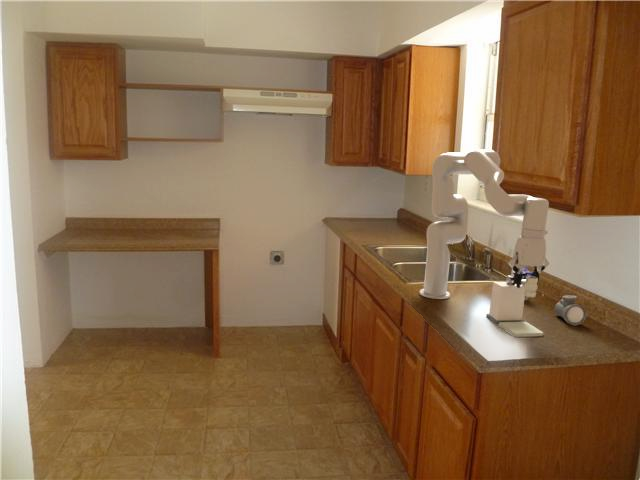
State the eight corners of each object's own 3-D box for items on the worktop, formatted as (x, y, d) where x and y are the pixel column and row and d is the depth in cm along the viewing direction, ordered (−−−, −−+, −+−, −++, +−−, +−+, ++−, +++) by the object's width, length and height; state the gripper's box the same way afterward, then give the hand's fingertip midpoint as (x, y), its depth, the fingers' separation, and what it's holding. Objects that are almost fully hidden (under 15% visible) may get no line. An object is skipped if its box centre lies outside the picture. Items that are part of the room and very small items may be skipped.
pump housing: (486, 317, 212) (491, 273, 209) (512, 316, 214) (517, 273, 211) (497, 324, 204) (502, 279, 201) (523, 323, 207) (530, 279, 203)
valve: (541, 298, 191) (526, 287, 202) (544, 279, 189) (528, 269, 201) (522, 297, 190) (508, 287, 202) (525, 278, 189) (511, 269, 200)
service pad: (498, 325, 204) (498, 322, 203) (525, 324, 206) (525, 321, 206) (515, 336, 193) (515, 333, 193) (543, 335, 195) (543, 332, 195)
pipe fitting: (587, 325, 208) (587, 298, 207) (565, 326, 207) (566, 299, 206) (570, 317, 219) (571, 292, 218) (550, 318, 219) (550, 293, 218)
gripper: (548, 231, 198) (541, 280, 201) (504, 231, 194) (498, 281, 198) (561, 236, 191) (554, 287, 194) (516, 235, 187) (509, 287, 191)
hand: (525, 283), depth 196 cm, fingers closed on valve, 5 cm apart
